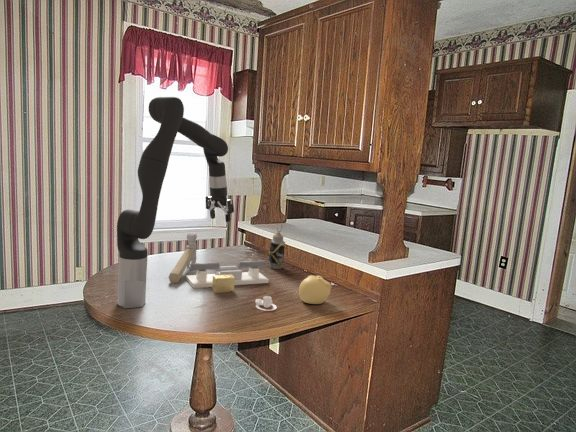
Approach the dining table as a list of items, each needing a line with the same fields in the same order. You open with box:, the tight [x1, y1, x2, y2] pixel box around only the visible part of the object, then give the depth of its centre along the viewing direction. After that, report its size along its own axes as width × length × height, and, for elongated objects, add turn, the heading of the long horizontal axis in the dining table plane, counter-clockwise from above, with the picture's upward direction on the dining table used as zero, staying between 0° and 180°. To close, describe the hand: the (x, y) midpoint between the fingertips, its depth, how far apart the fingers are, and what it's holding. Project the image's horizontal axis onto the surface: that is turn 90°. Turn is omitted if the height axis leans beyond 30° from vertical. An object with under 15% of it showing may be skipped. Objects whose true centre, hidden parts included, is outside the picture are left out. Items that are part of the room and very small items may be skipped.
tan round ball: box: [298, 274, 332, 305], centre depth 164 cm, size 11×12×11 cm
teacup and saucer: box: [254, 295, 278, 312], centre depth 155 cm, size 9×8×4 cm
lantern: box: [267, 218, 287, 270], centre depth 207 cm, size 9×8×25 cm
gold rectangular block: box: [211, 274, 235, 294], centre depth 167 cm, size 4×8×6 cm, turn 118°
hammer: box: [168, 231, 198, 284], centre depth 184 cm, size 16×5×30 cm
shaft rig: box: [185, 260, 270, 289], centre depth 180 cm, size 12×34×8 cm, turn 118°
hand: (220, 220), depth 185 cm, fingers open, 8 cm apart
